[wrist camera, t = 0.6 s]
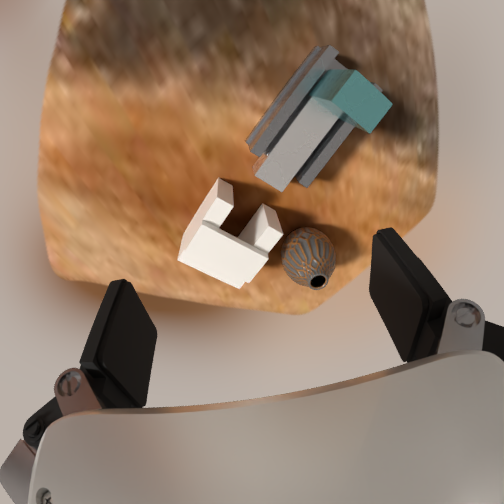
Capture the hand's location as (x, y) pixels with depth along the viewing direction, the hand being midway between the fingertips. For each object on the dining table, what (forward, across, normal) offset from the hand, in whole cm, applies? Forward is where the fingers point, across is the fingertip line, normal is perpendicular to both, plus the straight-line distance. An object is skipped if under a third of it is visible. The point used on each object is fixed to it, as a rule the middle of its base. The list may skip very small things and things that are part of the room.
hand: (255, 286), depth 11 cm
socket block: (+26, +2, +10) cm, 28 cm away
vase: (+26, -6, +16) cm, 31 cm away
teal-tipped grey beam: (+25, -7, 0) cm, 26 cm away
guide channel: (+26, -9, -2) cm, 27 cm away
